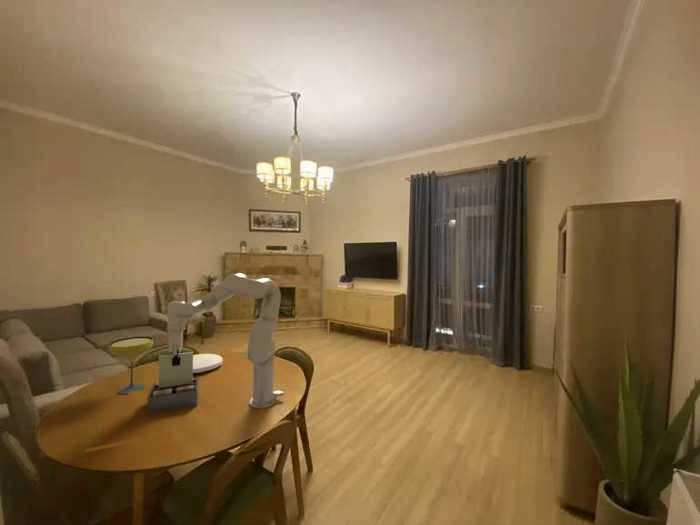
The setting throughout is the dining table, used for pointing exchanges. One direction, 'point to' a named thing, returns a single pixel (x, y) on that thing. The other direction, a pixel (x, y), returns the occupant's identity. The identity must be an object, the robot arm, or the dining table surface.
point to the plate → (206, 362)
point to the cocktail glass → (131, 355)
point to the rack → (173, 398)
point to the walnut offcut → (185, 389)
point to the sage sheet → (175, 370)
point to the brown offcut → (162, 392)
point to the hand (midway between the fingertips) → (176, 364)
